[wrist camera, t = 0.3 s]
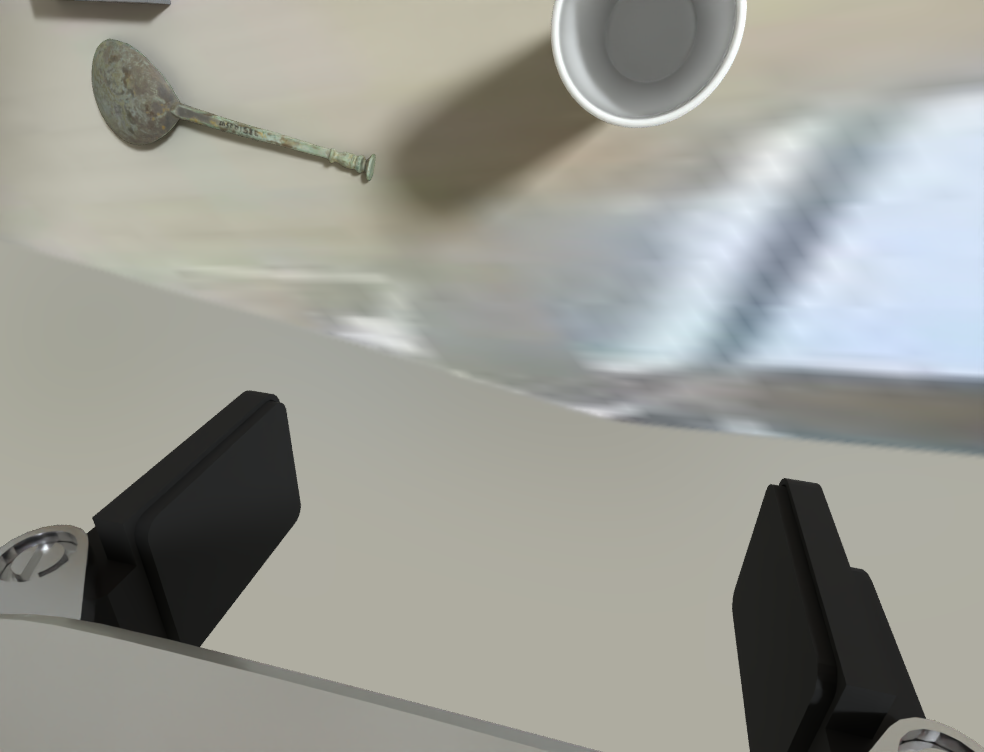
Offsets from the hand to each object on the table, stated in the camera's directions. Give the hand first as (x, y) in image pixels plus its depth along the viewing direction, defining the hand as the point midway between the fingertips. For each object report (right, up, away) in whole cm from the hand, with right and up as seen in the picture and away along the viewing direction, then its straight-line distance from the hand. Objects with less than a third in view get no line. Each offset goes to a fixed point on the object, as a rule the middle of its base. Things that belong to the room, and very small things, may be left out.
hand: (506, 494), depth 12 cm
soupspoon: (-18, +20, +31) cm, 41 cm away
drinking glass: (+9, +21, +22) cm, 32 cm away
